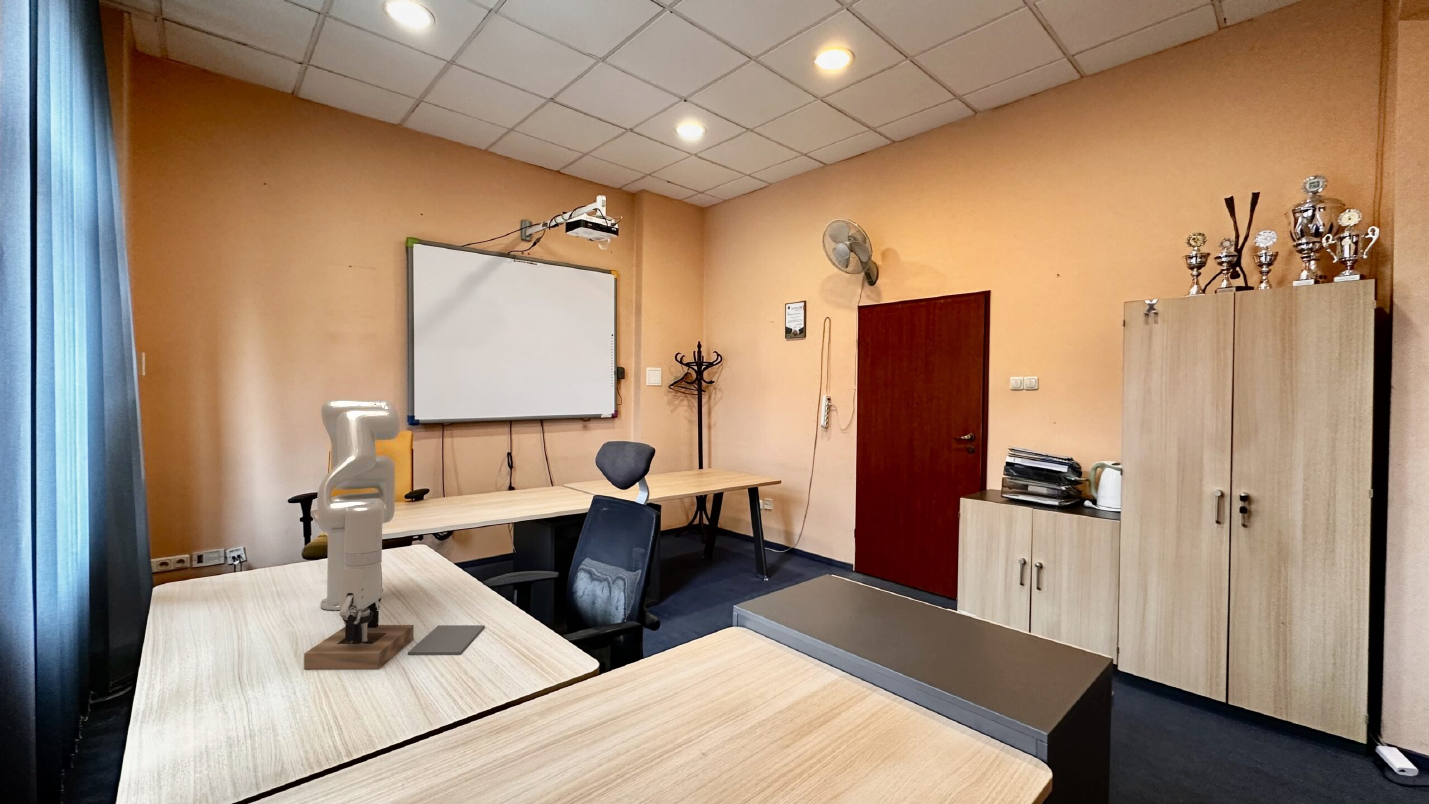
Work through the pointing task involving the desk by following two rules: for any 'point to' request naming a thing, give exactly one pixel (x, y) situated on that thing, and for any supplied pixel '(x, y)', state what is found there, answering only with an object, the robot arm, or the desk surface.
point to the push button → (364, 626)
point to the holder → (359, 649)
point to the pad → (447, 640)
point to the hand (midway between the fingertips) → (362, 633)
